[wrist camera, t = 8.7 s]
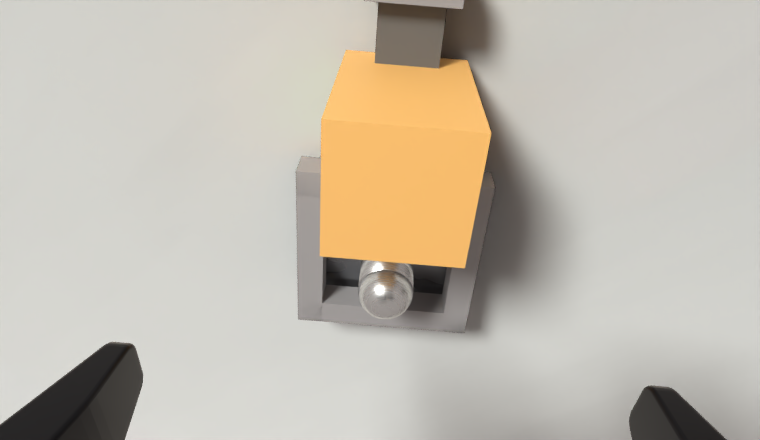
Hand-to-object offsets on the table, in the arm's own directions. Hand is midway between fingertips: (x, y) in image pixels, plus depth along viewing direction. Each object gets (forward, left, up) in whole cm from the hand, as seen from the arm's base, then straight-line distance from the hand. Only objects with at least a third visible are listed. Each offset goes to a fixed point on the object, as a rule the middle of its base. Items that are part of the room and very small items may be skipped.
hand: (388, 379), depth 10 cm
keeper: (0, +5, -12) cm, 13 cm away
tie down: (0, 0, -11) cm, 11 cm away
